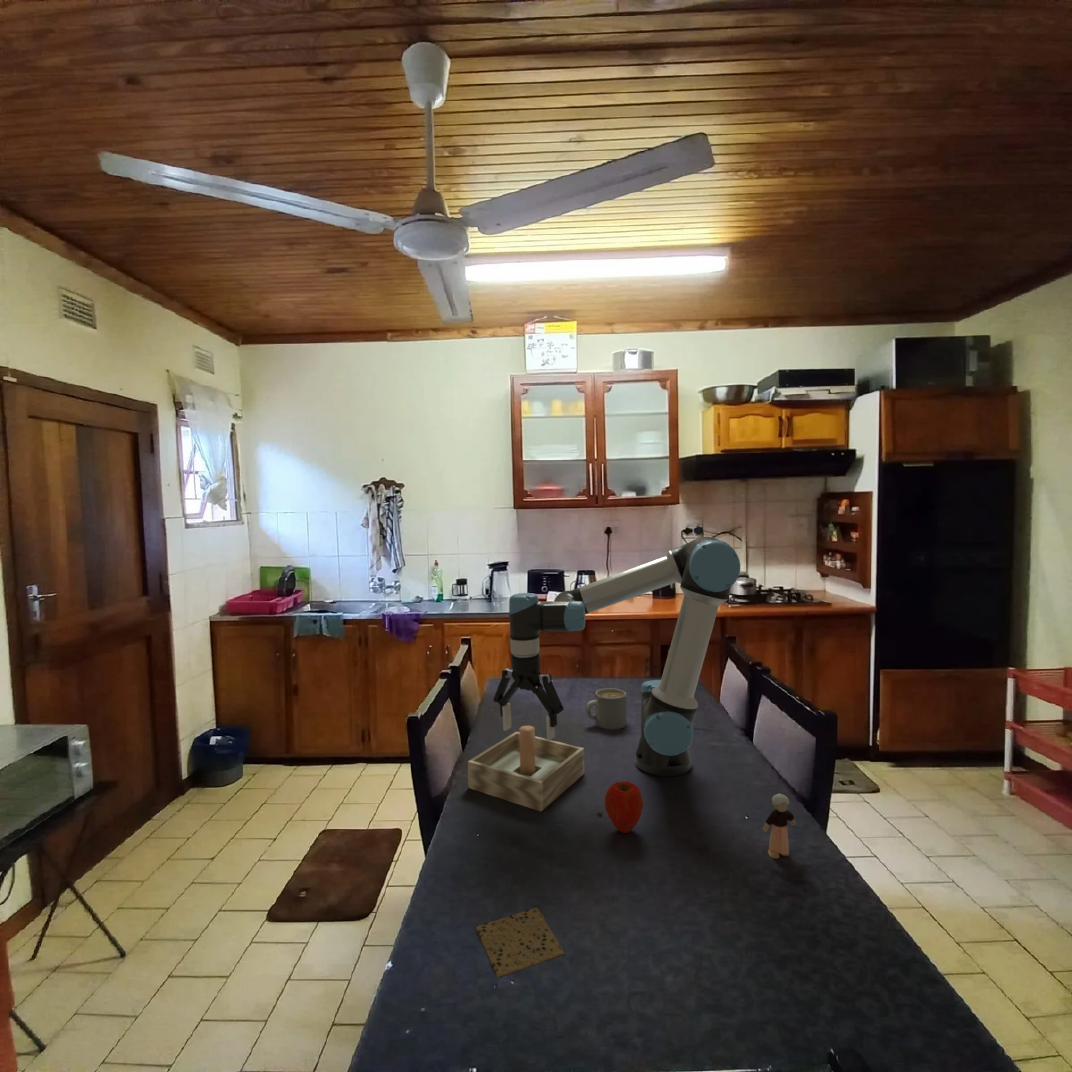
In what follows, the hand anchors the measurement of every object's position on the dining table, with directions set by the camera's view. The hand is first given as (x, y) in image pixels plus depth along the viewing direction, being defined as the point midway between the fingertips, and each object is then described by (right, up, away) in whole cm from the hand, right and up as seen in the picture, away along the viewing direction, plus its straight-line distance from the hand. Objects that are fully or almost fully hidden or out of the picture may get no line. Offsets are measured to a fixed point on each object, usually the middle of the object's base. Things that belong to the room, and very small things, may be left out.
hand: (528, 733), depth 153 cm
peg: (0, -13, +1) cm, 13 cm away
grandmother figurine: (+53, -14, -31) cm, 63 cm away
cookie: (-1, -17, -54) cm, 57 cm away
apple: (+22, -14, -22) cm, 34 cm away
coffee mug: (+25, -10, +38) cm, 47 cm away
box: (0, -13, +1) cm, 13 cm away
